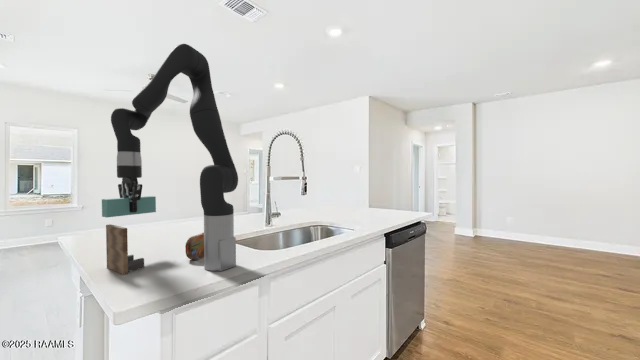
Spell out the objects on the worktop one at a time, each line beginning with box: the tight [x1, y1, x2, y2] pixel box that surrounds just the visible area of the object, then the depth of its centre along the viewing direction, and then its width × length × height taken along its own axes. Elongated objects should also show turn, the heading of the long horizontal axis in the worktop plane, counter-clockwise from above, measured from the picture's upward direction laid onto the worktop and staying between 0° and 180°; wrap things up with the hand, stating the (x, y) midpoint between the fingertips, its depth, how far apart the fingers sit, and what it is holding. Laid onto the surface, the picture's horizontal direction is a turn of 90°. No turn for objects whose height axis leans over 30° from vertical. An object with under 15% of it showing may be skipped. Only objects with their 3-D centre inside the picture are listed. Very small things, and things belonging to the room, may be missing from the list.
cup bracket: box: [105, 223, 145, 276], centre depth 92 cm, size 12×7×14 cm, turn 57°
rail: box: [101, 195, 157, 218], centre depth 104 cm, size 4×16×6 cm, turn 147°
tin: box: [185, 232, 204, 261], centre depth 106 cm, size 15×3×8 cm, turn 168°
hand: (130, 211), depth 104 cm, fingers closed on rail, 4 cm apart
